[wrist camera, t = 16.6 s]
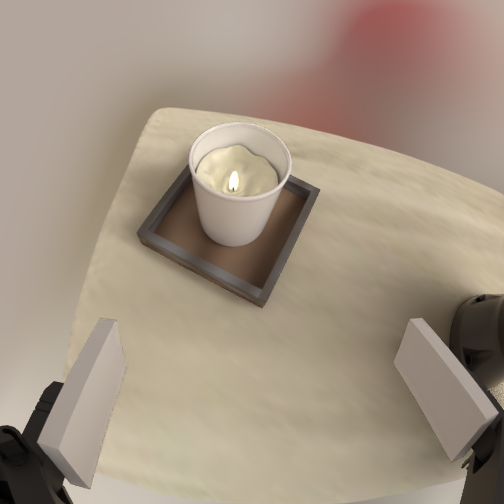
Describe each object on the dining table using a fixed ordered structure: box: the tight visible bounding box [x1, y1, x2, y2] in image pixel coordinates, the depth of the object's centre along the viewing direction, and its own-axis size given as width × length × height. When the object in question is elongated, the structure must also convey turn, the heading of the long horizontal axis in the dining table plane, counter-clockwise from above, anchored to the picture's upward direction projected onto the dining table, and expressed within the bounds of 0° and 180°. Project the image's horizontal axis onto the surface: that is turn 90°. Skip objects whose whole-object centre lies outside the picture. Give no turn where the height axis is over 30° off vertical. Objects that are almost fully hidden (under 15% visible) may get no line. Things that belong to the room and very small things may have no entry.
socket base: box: [137, 164, 320, 308], centre depth 39 cm, size 17×17×3 cm
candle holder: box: [188, 122, 291, 247], centre depth 34 cm, size 10×10×12 cm
